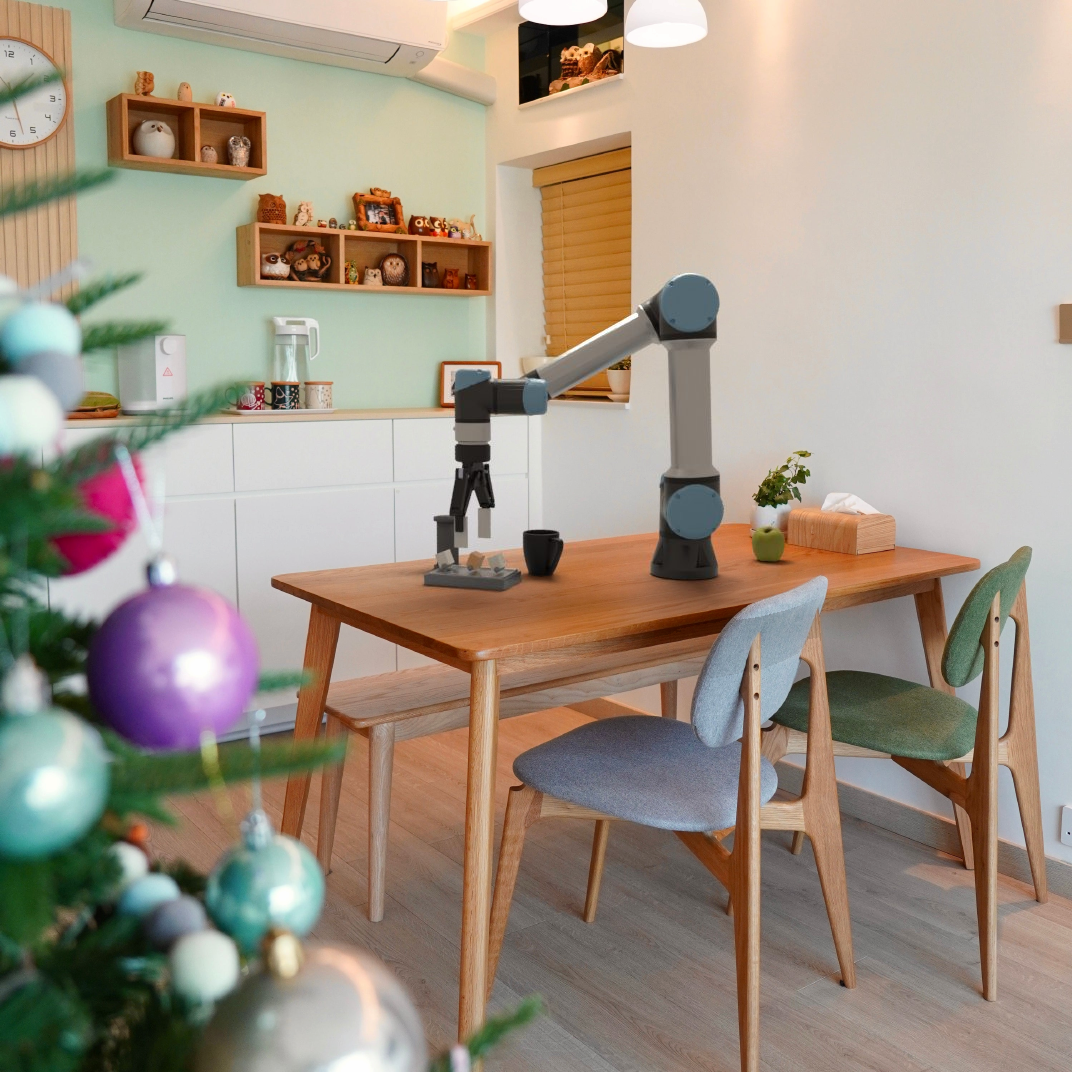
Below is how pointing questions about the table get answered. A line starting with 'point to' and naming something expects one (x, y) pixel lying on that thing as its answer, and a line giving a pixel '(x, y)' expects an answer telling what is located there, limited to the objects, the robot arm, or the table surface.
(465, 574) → the breaker strip
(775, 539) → the apple
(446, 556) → the paddle
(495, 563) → the paddle
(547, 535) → the mug
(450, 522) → the dark grey flanged cylinder
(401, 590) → the table surface
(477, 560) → the paddle mid
